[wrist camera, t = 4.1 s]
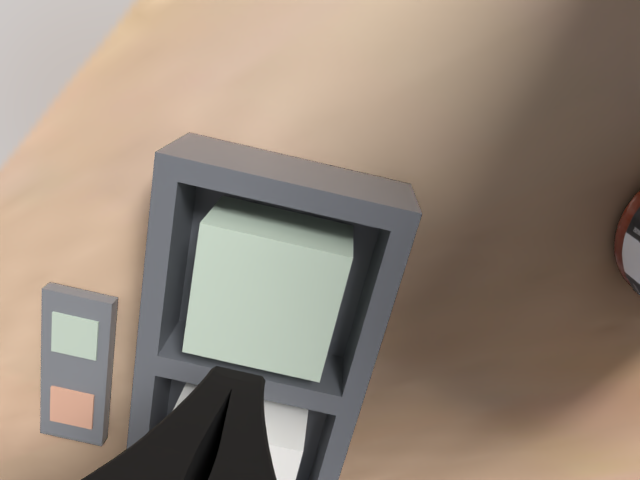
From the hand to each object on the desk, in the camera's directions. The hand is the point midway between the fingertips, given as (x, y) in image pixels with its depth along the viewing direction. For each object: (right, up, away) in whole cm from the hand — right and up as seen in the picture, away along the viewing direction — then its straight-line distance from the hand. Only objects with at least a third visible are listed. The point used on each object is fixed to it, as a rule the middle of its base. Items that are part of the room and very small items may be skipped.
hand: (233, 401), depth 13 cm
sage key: (0, +3, +7) cm, 7 cm away
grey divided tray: (-1, -3, +10) cm, 11 cm away
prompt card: (-9, -2, +10) cm, 14 cm away
